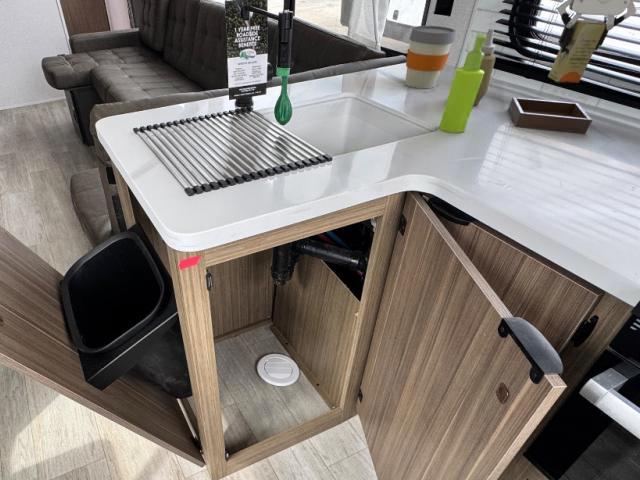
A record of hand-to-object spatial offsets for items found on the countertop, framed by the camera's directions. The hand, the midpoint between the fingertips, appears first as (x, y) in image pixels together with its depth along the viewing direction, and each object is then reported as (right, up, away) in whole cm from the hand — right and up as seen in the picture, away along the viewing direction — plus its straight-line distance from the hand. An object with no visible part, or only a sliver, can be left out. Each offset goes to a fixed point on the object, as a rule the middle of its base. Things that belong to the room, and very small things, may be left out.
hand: (577, 47), depth 101 cm
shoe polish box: (0, -5, +5) cm, 7 cm away
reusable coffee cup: (-22, +9, +36) cm, 43 cm away
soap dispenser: (-26, -16, +7) cm, 31 cm away
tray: (0, -13, +11) cm, 17 cm away
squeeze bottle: (-14, -3, +22) cm, 27 cm away
